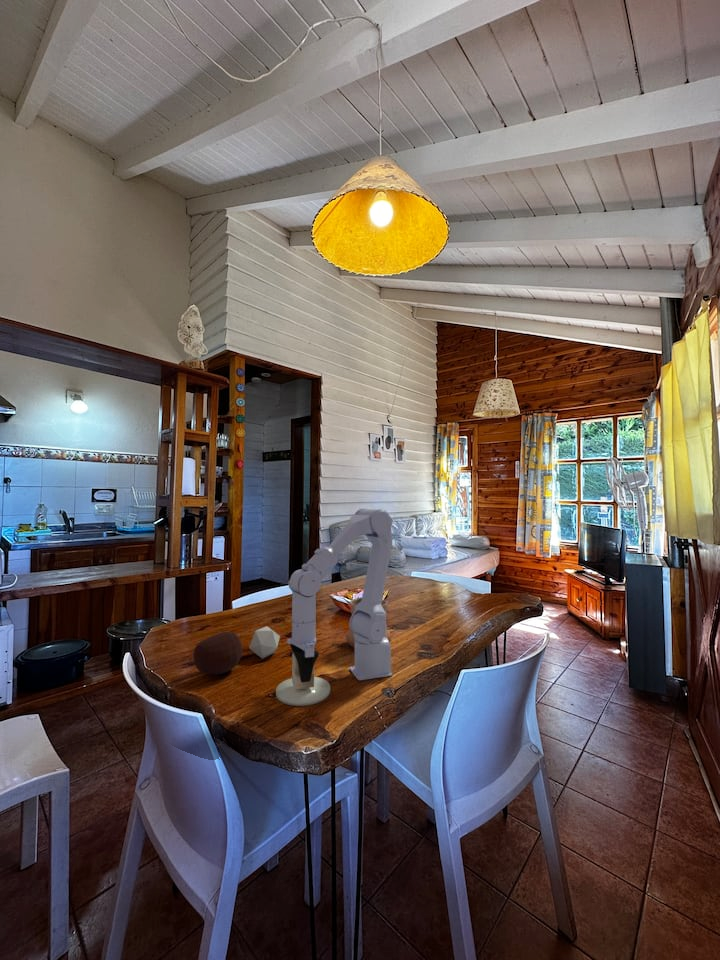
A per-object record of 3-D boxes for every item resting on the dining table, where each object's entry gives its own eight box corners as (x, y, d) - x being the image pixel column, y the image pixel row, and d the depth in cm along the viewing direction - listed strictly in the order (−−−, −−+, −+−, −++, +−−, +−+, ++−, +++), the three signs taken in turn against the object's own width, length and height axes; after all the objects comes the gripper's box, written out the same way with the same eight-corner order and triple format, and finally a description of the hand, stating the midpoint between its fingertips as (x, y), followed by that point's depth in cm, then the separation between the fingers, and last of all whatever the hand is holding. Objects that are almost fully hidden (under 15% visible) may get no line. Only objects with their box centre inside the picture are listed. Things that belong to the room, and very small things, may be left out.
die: (282, 659, 118) (286, 627, 124) (261, 652, 113) (266, 618, 119) (263, 664, 122) (267, 632, 128) (241, 657, 116) (247, 624, 123)
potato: (185, 675, 106) (186, 635, 107) (230, 660, 116) (231, 624, 117) (204, 688, 99) (205, 645, 99) (251, 671, 108) (252, 632, 109)
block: (310, 678, 100) (310, 650, 100) (314, 686, 95) (314, 657, 96) (292, 681, 98) (292, 652, 99) (295, 689, 94) (295, 659, 94)
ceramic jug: (401, 652, 122) (401, 605, 123) (357, 659, 117) (357, 610, 117) (376, 634, 139) (376, 593, 139) (337, 639, 133) (337, 596, 134)
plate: (323, 677, 105) (323, 673, 105) (336, 700, 93) (336, 696, 93) (272, 684, 101) (272, 680, 101) (279, 709, 88) (280, 705, 89)
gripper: (283, 613, 103) (282, 667, 102) (292, 630, 90) (291, 692, 89) (310, 611, 105) (309, 663, 105) (323, 627, 92) (322, 688, 91)
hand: (303, 676), depth 97 cm, fingers closed on block, 4 cm apart
